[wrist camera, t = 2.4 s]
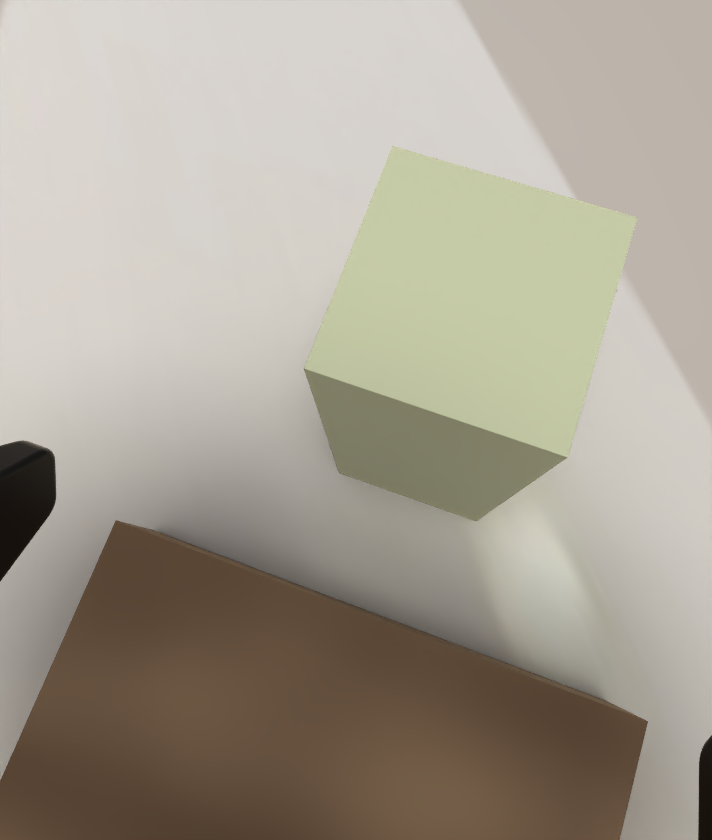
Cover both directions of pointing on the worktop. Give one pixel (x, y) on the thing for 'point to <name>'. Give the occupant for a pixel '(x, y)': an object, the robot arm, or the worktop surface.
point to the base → (295, 721)
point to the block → (464, 333)
